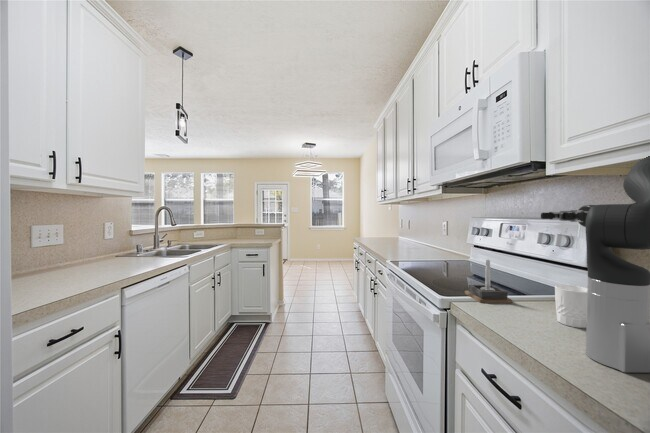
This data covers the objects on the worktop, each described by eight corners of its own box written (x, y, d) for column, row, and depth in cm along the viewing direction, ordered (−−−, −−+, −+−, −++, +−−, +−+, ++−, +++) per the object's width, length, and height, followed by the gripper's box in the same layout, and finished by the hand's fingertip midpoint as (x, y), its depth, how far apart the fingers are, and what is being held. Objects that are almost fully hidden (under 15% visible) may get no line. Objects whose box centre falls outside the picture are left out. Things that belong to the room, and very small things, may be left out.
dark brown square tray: (512, 302, 97) (512, 292, 97) (480, 302, 97) (480, 292, 97) (493, 293, 108) (493, 284, 108) (464, 293, 108) (464, 284, 108)
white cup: (598, 330, 75) (599, 293, 75) (564, 327, 77) (565, 291, 76) (578, 319, 83) (579, 285, 83) (548, 317, 84) (548, 283, 84)
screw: (479, 292, 106) (494, 294, 104) (480, 295, 102) (495, 297, 100) (480, 258, 106) (495, 259, 104) (480, 260, 101) (496, 261, 99)
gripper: (580, 205, 102) (535, 205, 102) (622, 204, 88) (569, 204, 88) (580, 225, 102) (535, 225, 102) (621, 228, 88) (568, 228, 88)
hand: (551, 216), depth 95 cm, fingers open, 8 cm apart
